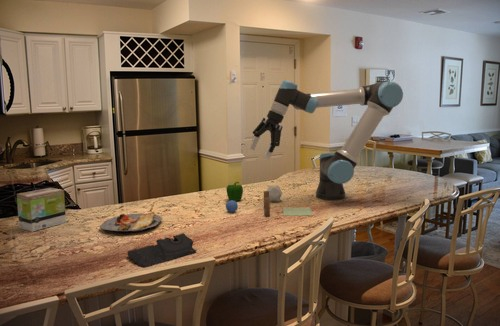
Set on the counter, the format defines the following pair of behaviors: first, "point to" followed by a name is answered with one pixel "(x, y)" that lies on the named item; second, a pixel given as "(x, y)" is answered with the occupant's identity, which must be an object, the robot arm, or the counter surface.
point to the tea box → (41, 209)
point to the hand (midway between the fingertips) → (258, 153)
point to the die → (274, 193)
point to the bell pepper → (234, 192)
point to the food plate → (131, 222)
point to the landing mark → (297, 211)
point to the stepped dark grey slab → (163, 251)
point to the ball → (231, 206)
